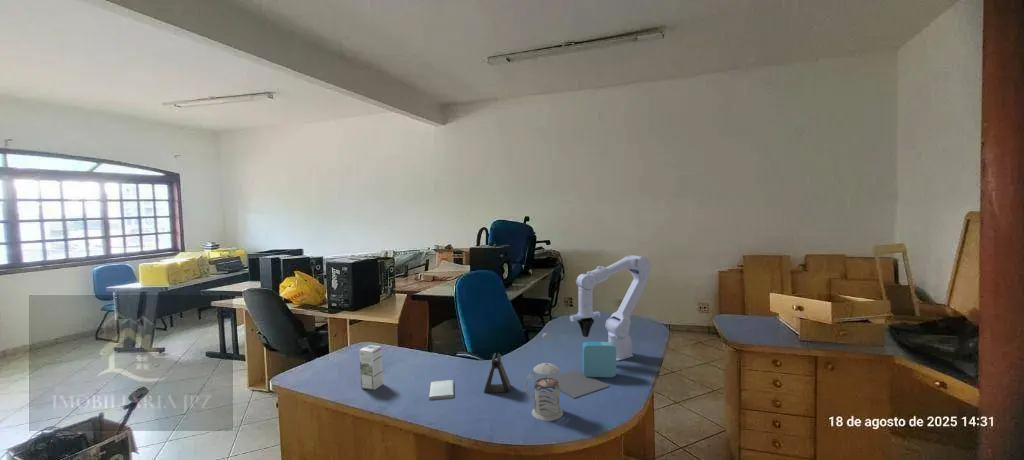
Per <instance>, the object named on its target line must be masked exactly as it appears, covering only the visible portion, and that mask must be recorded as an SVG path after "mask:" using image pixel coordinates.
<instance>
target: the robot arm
mask: <svg viewBox="0 0 1024 460" xmlns="http://www.w3.org/2000/svg"><path fill="white" fill-rule="evenodd" d="M651 268H652V265H651V261H650V260H649V258H648V257H647V256H640V255H634V254H629V255H627V256H624V257H623V258H622V259H620V260H617V261H616V262H614V263H612V264H610V265H607V266H606V267H604V266H600V265H598V266H596V268H595V269H593V270H591V271H589V270H588V271H586V273H581V274H579V275H578V276H577V278H576V280H575V284H576V286H577V287H578V307H577V308H578V309H577V310H578V312H577V313H576V314H573V315H569V321H570V322H573V323H574V322H576V321H577V323H578V326H579V327H580V331H581V333H582V334H581V335H582V336H583V337H584V338H588V337H589V335H590V331H591V328H592V326H593V325H594V323H595V319H594V318H601V312H600V311H593V308H594V307H593V306H594V305H593V294H594V293H593V289H594V288H595V286H596V285H598V284H600V283H602V282H604V281H606V280H608V279H609V278H610V275H613V274H615V273H618V272H620V271H623V270H627V269H628V271H629V272H630V273H631V275H632V277H633V279H632V281H631V283H630V286H629V287H628V289H627V291H626V293H625V295H624V297H623V299H622V302H621V303H620V305H619V307H618V309H617V311H615V312H613V313H612V314H611V316H610V317H609V318H608V319H606V321H605V330H607V334H608V337H607V338H608V341H607V342H612V343H613V344H614V346H615V347H616V362H618V361H622V360H625V359H629V358H632V357H634V354H633V348H632V347H633V343H632V338H631V336H630V335H629V333H630V326H631V324H632V322H631V319H630V318H631V315H632V313H633V311H634V309H635V307H636V305H637V303H638V302H639V299H640V297H641V295H642V293H643V291H644V289H645V287H646V285H647V284H648V282H649V275H650V274H649V273H650V270H651Z"/></svg>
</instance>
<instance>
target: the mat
mask: <svg viewBox="0 0 1024 460" xmlns="http://www.w3.org/2000/svg"><path fill="white" fill-rule="evenodd" d="M547 378H554V379H556V380H557V381H558V385H559V391H560V392H563V393H564V394H566V395H568V396H569V397H571V398H572V399H578V398H579V397H583V396H585V395H588V394H589V395H590V394H591V393H595V392H597V391H602V390H603V389H606V388H609V387H610V385H608V384H607V383H604V382H603V381H600V380H598V379H597V378H596V377H586V376H585V375H584V373H583V371H580V370H579V369H577V368H576V369H572V370H568V371H565V372H562V373H559V374H558V373H557V374H554V375H550V376H547Z"/></svg>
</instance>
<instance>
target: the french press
mask: <svg viewBox="0 0 1024 460" xmlns="http://www.w3.org/2000/svg"><path fill="white" fill-rule="evenodd" d="M542 338H543V339H544V343H545V354H547V338H549V333H546V332H545V333H543V334H542ZM533 372H534V373H533ZM533 372H532V373H531V374H529V375H527V377H526V378H525V381H524V389H525V393H526V395H527V396H528V397H529V398H530V399H532V400H533V407H534V408H533V409H532V410H531V415H532V416H533V417H534V418H535V419H537V420H540V421H546V422H549V421H551V422H552V421H555V420H558V419H559V420H560V418H562V417H563V415H564V411H563V409H561V407H560V406H561V405H560V401H561V399H560V390H559V385H558V381H557V380H556V379H554V378H548V376H555V375H558V373H559V372H560V367H558V366H557V365H556V364H553V363H550V362H542V363H539V364H537V365H535V366H534V367H533ZM535 374H537V375H540V376H545V377H539V378H537V379H536V376H535ZM531 378H533V380H535V382H534V395H533V394H531V393H529V392H528V389H527V386H528V385H527V384H528V381H530V379H531ZM551 389H552V390H551ZM545 390H546V391H545Z"/></svg>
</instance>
